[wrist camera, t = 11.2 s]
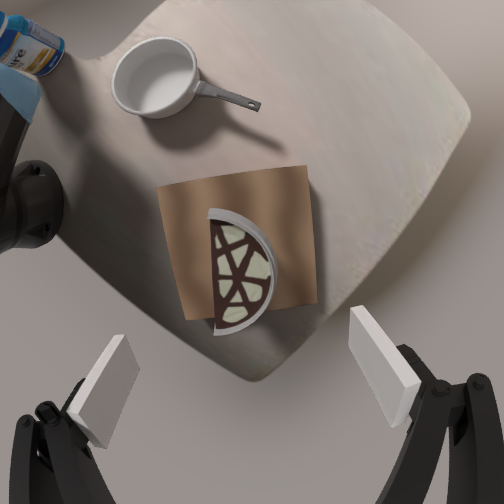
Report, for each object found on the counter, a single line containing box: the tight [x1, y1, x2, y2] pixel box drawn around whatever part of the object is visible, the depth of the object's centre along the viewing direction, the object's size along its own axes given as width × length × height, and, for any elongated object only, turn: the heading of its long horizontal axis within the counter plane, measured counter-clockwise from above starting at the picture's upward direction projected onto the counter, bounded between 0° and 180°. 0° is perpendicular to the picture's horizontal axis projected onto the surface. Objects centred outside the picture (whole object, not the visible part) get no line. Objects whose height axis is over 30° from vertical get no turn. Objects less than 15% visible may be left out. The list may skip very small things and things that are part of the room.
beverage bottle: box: [0, 11, 65, 77], centre depth 17 cm, size 8×8×20 cm
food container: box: [207, 208, 278, 336], centre depth 28 cm, size 12×6×10 cm, turn 0°
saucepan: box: [111, 36, 261, 119], centre depth 29 cm, size 12×20×6 cm, turn 67°
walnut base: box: [156, 165, 317, 320], centre depth 35 cm, size 18×18×5 cm
